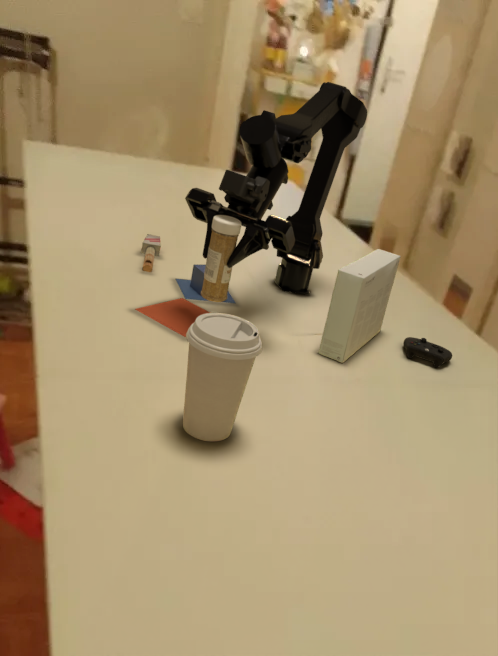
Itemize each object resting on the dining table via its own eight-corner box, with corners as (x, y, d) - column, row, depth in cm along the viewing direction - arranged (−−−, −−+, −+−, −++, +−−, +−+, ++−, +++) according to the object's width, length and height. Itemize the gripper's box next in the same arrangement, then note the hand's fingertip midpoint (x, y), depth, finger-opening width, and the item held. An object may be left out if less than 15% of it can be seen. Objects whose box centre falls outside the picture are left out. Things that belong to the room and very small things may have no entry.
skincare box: (355, 322, 137) (378, 247, 130) (380, 332, 136) (404, 256, 128) (314, 352, 120) (337, 267, 112) (342, 364, 118) (367, 278, 111)
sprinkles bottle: (230, 303, 112) (246, 225, 106) (204, 302, 110) (218, 222, 104) (221, 292, 116) (236, 215, 109) (196, 290, 114) (209, 212, 107)
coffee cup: (213, 457, 85) (236, 351, 78) (155, 424, 88) (172, 319, 81) (255, 431, 92) (279, 332, 85) (201, 401, 96) (220, 304, 89)
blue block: (209, 285, 135) (213, 264, 133) (220, 295, 132) (224, 273, 130) (189, 286, 132) (193, 264, 130) (200, 295, 129) (204, 273, 127)
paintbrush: (163, 230, 150) (157, 264, 133) (161, 242, 151) (155, 277, 135) (146, 227, 149) (137, 260, 132) (144, 238, 150) (136, 273, 134)
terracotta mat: (181, 299, 126) (182, 297, 126) (230, 325, 122) (230, 323, 121) (134, 310, 117) (134, 308, 117) (184, 339, 112) (185, 336, 112)
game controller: (452, 355, 131) (457, 343, 126) (443, 379, 130) (448, 368, 124) (405, 339, 133) (408, 326, 127) (395, 362, 132) (398, 350, 126)
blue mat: (222, 285, 138) (223, 283, 138) (235, 305, 130) (236, 303, 130) (174, 280, 134) (175, 278, 134) (185, 300, 126) (185, 298, 126)
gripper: (200, 135, 107) (151, 213, 104) (304, 170, 103) (257, 253, 99) (217, 180, 118) (173, 253, 114) (312, 214, 113) (269, 291, 109)
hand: (215, 261), depth 109 cm, fingers closed on sprinkles bottle, 4 cm apart
